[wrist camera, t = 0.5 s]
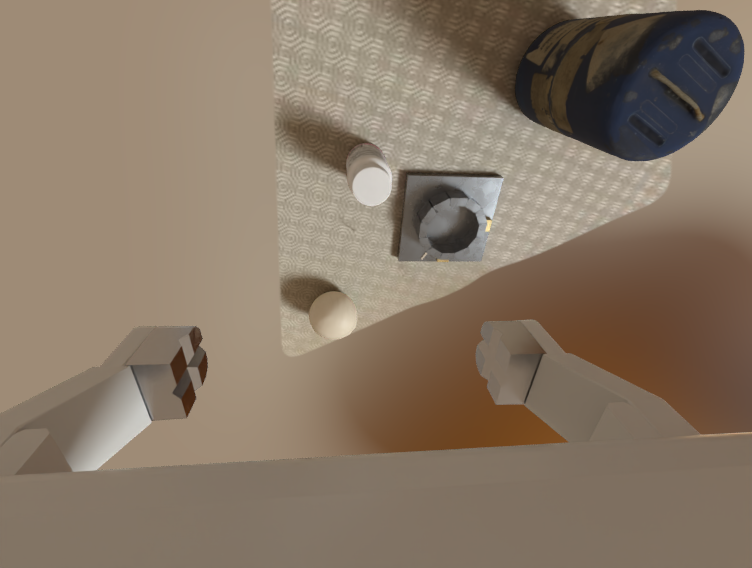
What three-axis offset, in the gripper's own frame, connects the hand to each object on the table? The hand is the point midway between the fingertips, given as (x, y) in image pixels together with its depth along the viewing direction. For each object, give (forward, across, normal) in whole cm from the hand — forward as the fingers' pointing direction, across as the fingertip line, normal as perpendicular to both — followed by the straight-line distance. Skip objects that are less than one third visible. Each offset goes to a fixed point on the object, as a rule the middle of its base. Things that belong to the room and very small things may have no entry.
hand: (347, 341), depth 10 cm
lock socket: (+35, -14, +8) cm, 39 cm away
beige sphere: (+37, +1, +22) cm, 43 cm away
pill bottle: (+35, -3, +1) cm, 35 cm away
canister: (+34, -23, -9) cm, 42 cm away
